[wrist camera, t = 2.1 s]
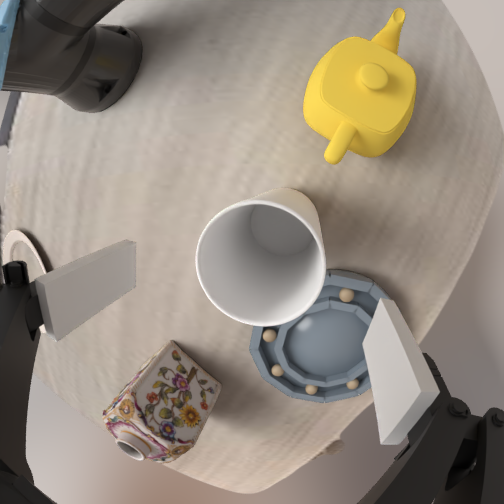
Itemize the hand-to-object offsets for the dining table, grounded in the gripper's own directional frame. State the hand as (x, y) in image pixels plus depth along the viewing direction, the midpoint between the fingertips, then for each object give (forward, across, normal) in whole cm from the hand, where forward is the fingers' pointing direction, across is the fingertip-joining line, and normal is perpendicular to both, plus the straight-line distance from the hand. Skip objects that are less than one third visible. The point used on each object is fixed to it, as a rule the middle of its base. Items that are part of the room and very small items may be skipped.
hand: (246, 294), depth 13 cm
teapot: (+20, +6, +16) cm, 26 cm away
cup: (+20, 0, 0) cm, 20 cm away
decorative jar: (+20, -12, -29) cm, 37 cm away
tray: (+20, +9, -14) cm, 25 cm away
